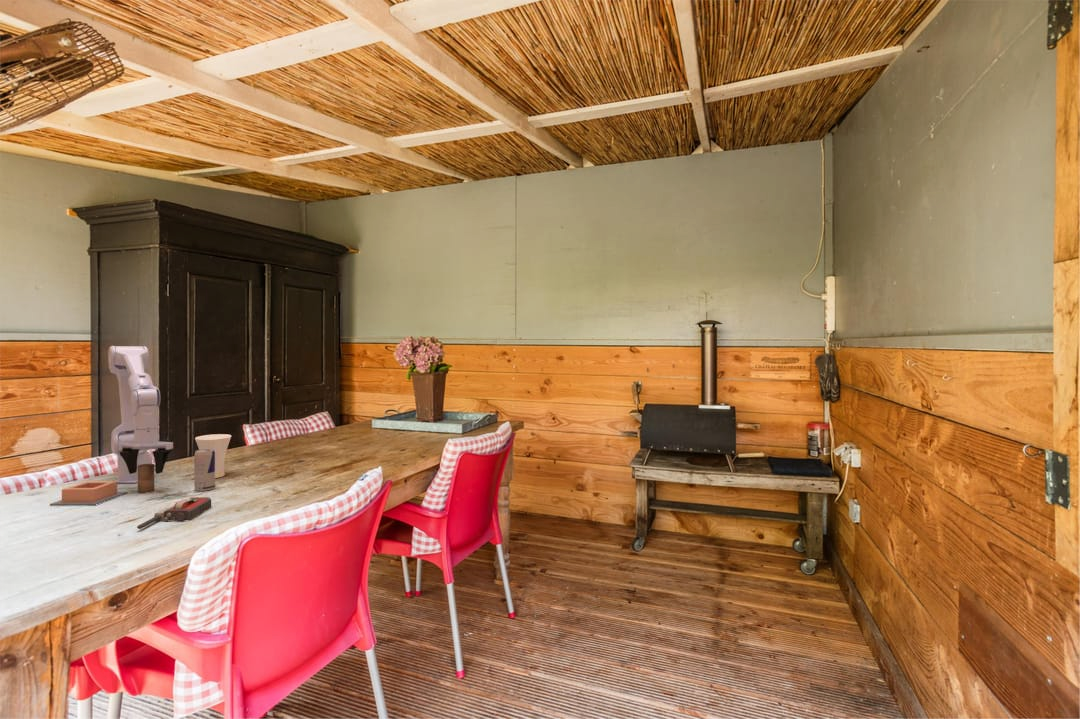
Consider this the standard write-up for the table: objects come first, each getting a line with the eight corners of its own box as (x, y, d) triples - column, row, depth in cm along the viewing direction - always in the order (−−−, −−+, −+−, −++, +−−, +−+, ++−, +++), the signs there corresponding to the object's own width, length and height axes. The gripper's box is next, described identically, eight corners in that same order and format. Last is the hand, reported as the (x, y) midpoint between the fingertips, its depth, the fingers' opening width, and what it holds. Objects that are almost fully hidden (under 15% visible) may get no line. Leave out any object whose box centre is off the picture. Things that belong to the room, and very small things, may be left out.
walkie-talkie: (181, 507, 144) (133, 533, 124) (181, 491, 144) (133, 515, 124) (215, 507, 145) (172, 532, 125) (215, 491, 145) (172, 514, 125)
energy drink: (219, 487, 163) (219, 449, 163) (206, 492, 158) (206, 452, 158) (203, 486, 164) (203, 448, 163) (190, 491, 158) (190, 452, 158)
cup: (205, 472, 181) (205, 434, 181) (237, 472, 182) (237, 434, 182) (188, 480, 171) (188, 439, 170) (222, 480, 172) (222, 439, 171)
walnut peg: (143, 489, 160) (143, 463, 159) (157, 489, 160) (157, 463, 160) (134, 493, 156) (134, 466, 155) (148, 493, 156) (148, 466, 156)
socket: (85, 493, 155) (85, 480, 154) (127, 493, 155) (127, 479, 155) (49, 505, 143) (49, 491, 143) (96, 505, 143) (95, 491, 143)
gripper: (110, 430, 153) (110, 476, 153) (162, 430, 154) (162, 476, 154) (127, 426, 160) (128, 470, 160) (177, 426, 161) (177, 470, 161)
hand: (146, 473), depth 157 cm, fingers open, 7 cm apart
